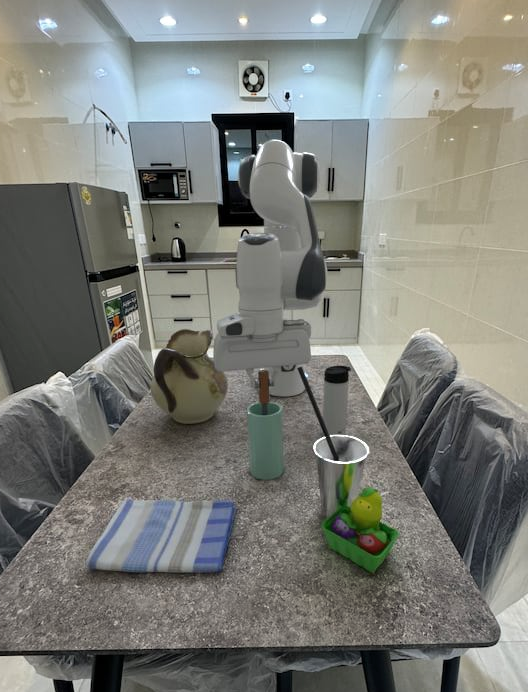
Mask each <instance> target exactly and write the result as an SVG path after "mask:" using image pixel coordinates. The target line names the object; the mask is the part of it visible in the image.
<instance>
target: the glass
mask: <svg viewBox="0 0 528 692" xmlns="http://www.w3.org/2000/svg"><path fill="white" fill-rule="evenodd" d="M297 369H298V372H299V374H300V377H301V379H302V382H303V384H304V387H305V391H306V394H307V396H308V399H309V401H310V404H311V406H312V408H313V411H314V414H315V416H316V418H317V421H318V423H319V426H320V428H321V431H323V433H324V436H325V437H320V438H319V439H317V440H316V441H315V442H314V444H313V448H312V450H313V452H314V454H315V457H316V468H317V478H318V479H317V480H318V489H319V499H320V509H321V511H320V512H321V518H322V520H324V521H325V520H326V519H327V518H328V517H330V516H331V515H332V514H333V513H334V512H335V511H337V510H338V509H339V508H340V507H346V506H349V507H350V506H351V503H352V502H353V501H354V500H355V499H356V498H357V497H359V494H360V493H359V492H360V488H361V483H362V478H363V473H364V469H365V464H366V463H365V462H366V459H367V457H368V456H369V454H370V448H369V446H368V444H367V443H366V442H365V441H363V440H362V439H360V438H357V437H355V436H351V435H348V434H347V435H346V434H345V435H329V433H328V430H327V428H326V425H325V423H324V420H323V414H322V412H321V410H320V408H319V406H318V403H317V400H316V398H315V396H314V393H313V391H312V388H311V384H310V382H309V380H308V379H307V378H308V377H306V375H305V373H304V370H303V368H302V367H299V368H297ZM309 384H310V385H309Z"/></svg>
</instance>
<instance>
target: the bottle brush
mask: <svg viewBox="0 0 528 692" xmlns="http://www.w3.org/2000/svg"><path fill="white" fill-rule="evenodd" d="M257 376H258V377H257V378H258V379H259V385H260V387H259V392H258V399H259V401H258V402H260V403H262V415H268V409H267V403H269V402H271V401H270V394H269V371H268V370H260V369H259V370H258V371H257Z"/></svg>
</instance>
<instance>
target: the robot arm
mask: <svg viewBox="0 0 528 692" xmlns="http://www.w3.org/2000/svg"><path fill="white" fill-rule="evenodd" d="M318 160H319V159H318V157H317V156H316V154H314V153H310V152H305V151H303V152H294V151H293V150H292V148H291V147H290V146H289V144H287V143H286V142H285V141H282V140H280V139H269V140H268V141H265V142H264V143H263V144H262V145H261V146H260V147H259V148H258V150H257V153H256V154H250V155H247V156H245V157H243V158H242V160H241V161H240V162H239V167H238V171H237V172H238V173H237V183H238V186H239V189H240V192H241V194H242V195H243V196H244V198H246V199H248V200H250V204H251V206H252V208H253V210H254V211H255V213H256V214H257V215H258V216H259V217H260V218H261V219H263V232H253V233H248V234H247V233H246V234H244V235H242V236H241V237H240V238H238V242H237V248H236V265H235V269H234V272H235V286H236V288H237V289H238V291H239V301H238V306H237V307H238V312H236V313H233V314H231V315H228V316H225V317H223V318H220V319H219V320H217V323H216V330H217V332H218V333H217V334H216V335H215V337H214V339H213V349H212V350H213V351H212V352H213V353H212V354H213V355H212V356H213V357H212V358H213V359H212V360H213V361H214V367H215V368H216V369H217V370H218V371H219V372H222V371H224V372H231V371H242V370H245V372H246V373H245V374H246V375H247V376H248V377H249V379H250V381H251V382H250V383H251V388H252V389H257V391H258V393H259V387H260V385H259V379H258V377H255V376H254V375H253V374H254V372H255V371H254V369H259V371H260V370H268V371H269V396H274V397H284V398H285V397H294V396H297V395H301V394H302V393H304V391H306V389H305V387H304V384H303V382H302V379H301V377H300V374H299V372H298V369H297V368H299V367H302V368H303V370H304V373H305V375H306V378H308V374H307V373H306V372H307V371H306V365H307V364H309V363H310V361H311V360H312V349H311V341H310V338H311V336H312V325H311V324H310V322H308V321H306V320H305V319H303V318H302V319H301V318H300V319H299V318H298V319H287V318H285V317H284V311H302V310H303V311H304V310H308V309H312V308H317V307H318V306H319V305H320V303H321V302H322V300H323V297H324V292H325V291H326V287H327V284H328V275H329V274H328V266H327V263H326V260H325V257H324V254H323V250H322V247H321V242H320V237H319V232H318V227H317V221H316V216H315V213H314V208H313V204H312V202H311V198H312V197H313V196H315V194H316V193H317V192H318V188H319V187H320V184H321V179H322V170H321V165H320V163H319V161H318ZM309 385H310V386H311V384H310V383H309Z"/></svg>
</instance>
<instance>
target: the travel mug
mask: <svg viewBox="0 0 528 692" xmlns="http://www.w3.org/2000/svg"><path fill="white" fill-rule="evenodd" d="M351 368H352V367H351V366H347V365H333V366H332V365H331V366H329V367H326V368H325V370H324V374H323V375H324V377H323V399H322V418H323V420H324V423H325V425H326V428H327V430H328V433H329V435H346V431H347V416H348V415H347V414H348V399H349V381H350V380H349V378H350V375H349V373H350V372H351V371H352V369H351ZM321 431H322V430H321ZM323 437H325V436H324V433H323V431H322V432H321V438H323Z"/></svg>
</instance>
